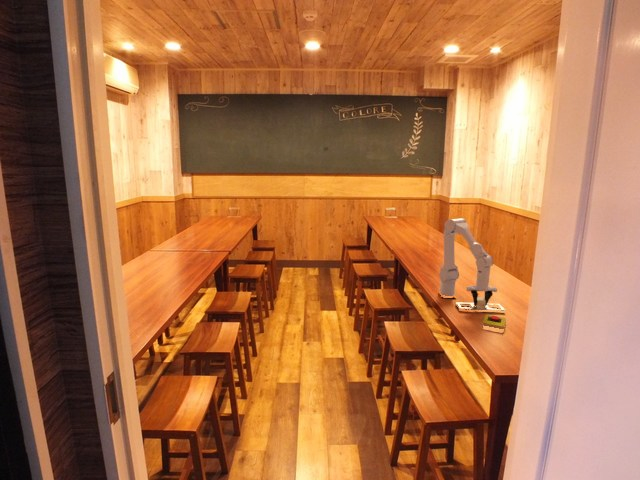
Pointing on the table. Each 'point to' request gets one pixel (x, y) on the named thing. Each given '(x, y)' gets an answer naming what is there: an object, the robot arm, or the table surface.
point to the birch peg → (480, 303)
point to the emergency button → (494, 321)
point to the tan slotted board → (478, 308)
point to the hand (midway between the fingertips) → (480, 304)
